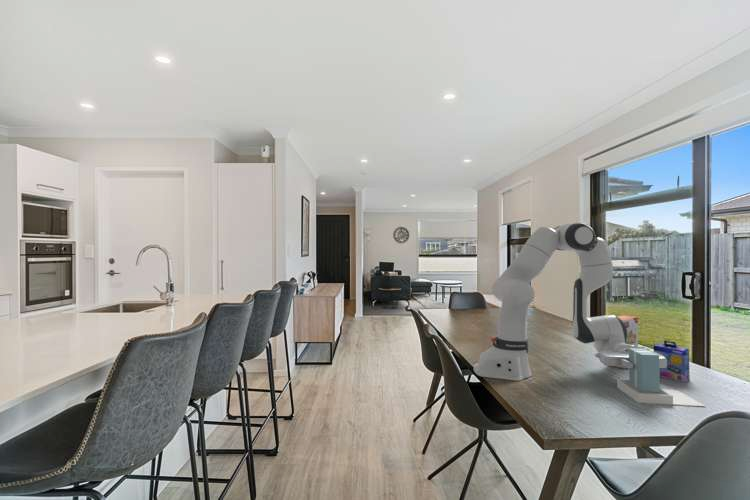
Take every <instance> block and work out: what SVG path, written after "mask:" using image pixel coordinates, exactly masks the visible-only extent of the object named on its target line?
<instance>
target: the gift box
mask: <svg viewBox="0 0 750 500" xmlns="http://www.w3.org/2000/svg"><path fill="white" fill-rule="evenodd" d="M651 351H652V350H650V351H648V350H646V349H638V348H629V362H634V363H635V364H636V368H629V367H628V371H629V372H628V374H629V378H628V380H629V382H630V383H632V384H633V385H635V386H636V387H638V388H639V389H641V390H642V391H653V392H660V388H661V381H660V379H661V377H660V374H659V355H657V354H655V353H653V352H654V351H653V352H651Z"/></svg>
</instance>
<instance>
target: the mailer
mask: <svg viewBox="0 0 750 500" xmlns="http://www.w3.org/2000/svg"><path fill="white" fill-rule="evenodd" d="M616 381H617V383H616V385H617V389H619V390H620V391H622V392H623V393H624V394H625V395H626V396H628V397H629V398H630V399H632V400H633V401H635V402H636V403H638V404H647V405H649V404H651V405H652V404H653V405H668V406H683V407H684V406H685V407H697V406H699V408H706V405H704V404H703V403H701V402H699V401H698V400H695V399H694V398H692V397H690V396H689V395H687V394H685V393H683V392H681V391H680V390H678V389H665V388H661V387H660V392H653V391H642V390H641V389H639V388H638V387H636V386H635V385H633V384H632V383H630V382H629V379H620V378H619V379H616ZM700 406H701V407H700ZM702 406H703V407H702Z"/></svg>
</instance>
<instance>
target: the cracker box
mask: <svg viewBox="0 0 750 500" xmlns="http://www.w3.org/2000/svg"><path fill="white" fill-rule="evenodd" d="M617 317H618V318H620V319H621V320H622V321H623V322H624V324H625V326H626V329H627V339H626V342H625V344H630V345H634V346H639V317H638V316H632V315H619V316H617ZM612 367H614V368H618V369H624V368H623V367H620V366H612Z"/></svg>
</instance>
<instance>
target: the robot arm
mask: <svg viewBox="0 0 750 500" xmlns="http://www.w3.org/2000/svg"><path fill="white" fill-rule="evenodd" d="M556 250H558V251H569V252H574V253H576V254H577V256H578V259H579V266H580V272H579V273H580V274H579V276H578V278H577V279H576V280H574V285H573V294H572V295H573V299H572V300H573V301H572V304H573V305H572V307H573V310H572V312H573V314H572V323H571V332H572V334H573V338H575V339H576V340H577V341H579V342H580V343H582V344H590V343H593V348H594V349H595V351H596V352H597V353H594V357H595V358H597V359H599V361H600V363H601V364H602V365H603V366H607V367H613V366H620V367H623V368H622V369H626V368H627V369H629V368H636V364H635V363H634V362H629V348H638V349H646V350H648V351H651V352H653V353H655V354H657V355H659V368H666V367H667V359H666V358H665V357H664V356H662V355H660V354H658V353H656V352H654V350H650V348H649V347H646V346H640V345H638V346H634V345H630V344H625V342H626V339H627V329H626V326H625V324H624V322H623V321H622V320H621V319H620V318H618V317H617V316H616V315H615V314H606V315H599V316H598V315H597V316H590V317H588V316H587V314H588V312H587V311H588V298H589V296H590V295H591V293H593V292H594V291H596V290H598V289H600V288H601V287H604V286H605V285H607V284H609V282H610V281H611V280H612V279H613V276H614V266H613V262H612V256H611V252H610V250H609V247H608V244H607V243H606V241H605V239H604V238H601V237H598V236H597V234H596V232H595V231H594V229H593V228H592V227H591V226H590V225H589V224H587V223H584V222H576V223H565V224H562V225H558V226H556V227H554V228H552V227H550V226H540V227H538V228H537V229H536V230H535V231H534V232H533V233H532V234H531V235H530V236H529V238H528V239H527V240H526V242H524V245H523V246H522V248H521V249H520V251H519V252H518V254H517V255H516V257H515V259H514V260H513V261H512V262H511V264H510V265H509V266H508V267H507V268H505V270H504V272H503V273H501V275H500V276H499V277H498V278H497V279H495V281H494V282H493V283H492V284H491V292H492V294H493V296H494V297H495V298H496V300H497V301H500V302H501V308H500V312H499V315H498V316H497V336H496V337H495V336H490V338H489V339H490V341H491V342H492V346H491V347H489V348H488V349H486V350H485V351H483V352H481V354H480V356H479V360H478V363H476V364H474V365H473V372H474V373H475V374H476V375H477V376H479V377H482V378H490V379H491V378H492V379H500V380H508V381H517V382H519V381H523V379H527V378H530V377H532V372H531V368H530V363H529V359H528V357H529V356H528V353H529V340H528V337H527V335H528V333H527V327H528V326H527V325H528V323H527V322H528V315H529V311H530V306H531V304H532V303H533V301H534V299H535V290H534V288H533V286H532V285H531V284H530V283H531V282H532V281H533V280H534V279H536V277H538V276H539V275H541V273H542V271H543V270H544V268H545V267H546V265H547V264H548V262H549V261H550V259H551V257H552V256H553V253H554V252H555V251H556Z"/></svg>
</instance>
